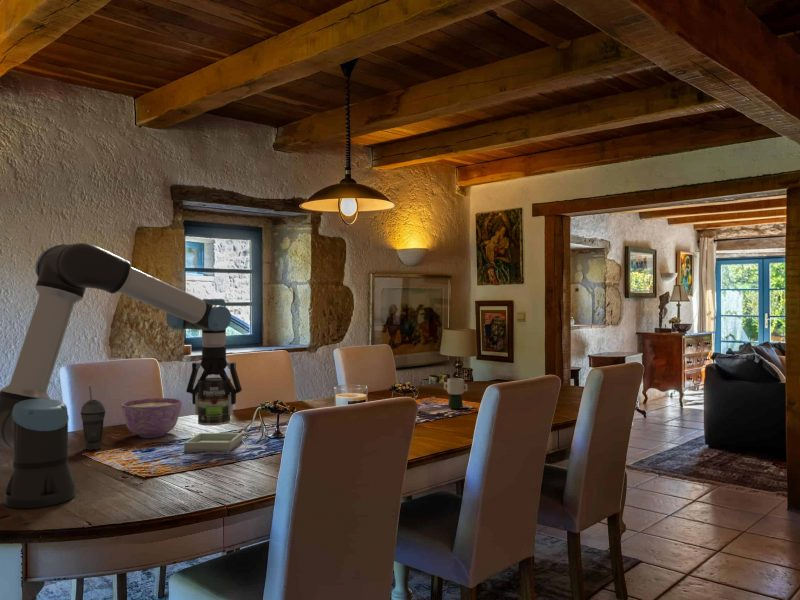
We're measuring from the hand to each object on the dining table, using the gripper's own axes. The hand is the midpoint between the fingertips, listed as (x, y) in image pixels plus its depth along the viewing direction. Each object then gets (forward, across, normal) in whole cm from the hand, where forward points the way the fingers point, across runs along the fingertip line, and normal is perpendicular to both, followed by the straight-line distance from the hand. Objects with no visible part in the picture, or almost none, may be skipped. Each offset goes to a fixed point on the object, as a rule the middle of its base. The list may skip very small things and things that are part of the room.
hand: (214, 414), depth 213 cm
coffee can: (+3, 0, 0) cm, 3 cm away
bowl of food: (+11, +27, -16) cm, 33 cm away
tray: (+10, 0, 0) cm, 10 cm away
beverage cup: (+11, +38, +4) cm, 40 cm away
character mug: (+11, -83, -72) cm, 111 cm away
